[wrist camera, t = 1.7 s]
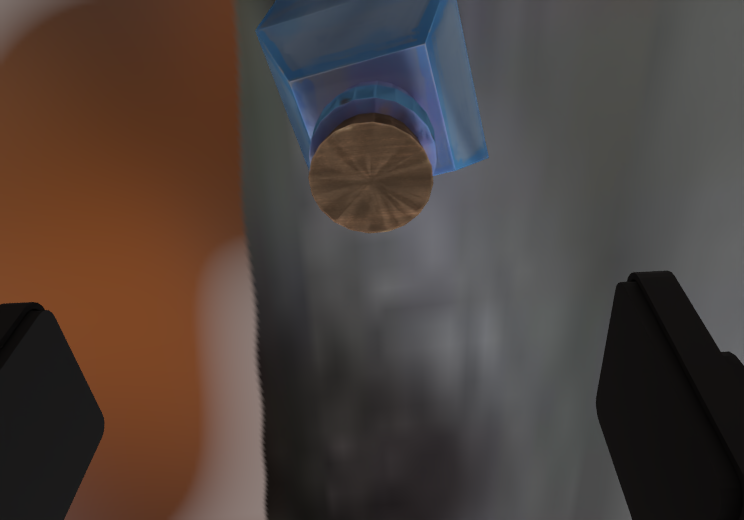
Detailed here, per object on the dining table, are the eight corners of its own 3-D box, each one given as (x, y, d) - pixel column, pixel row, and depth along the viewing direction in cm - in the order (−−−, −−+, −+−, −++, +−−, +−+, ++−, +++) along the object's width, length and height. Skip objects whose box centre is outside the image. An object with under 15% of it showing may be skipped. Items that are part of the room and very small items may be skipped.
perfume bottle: (334, 129, 28) (298, 297, 18) (285, -14, 25) (208, 98, 15) (472, 93, 27) (512, 252, 17) (440, -62, 24) (467, 25, 14)
